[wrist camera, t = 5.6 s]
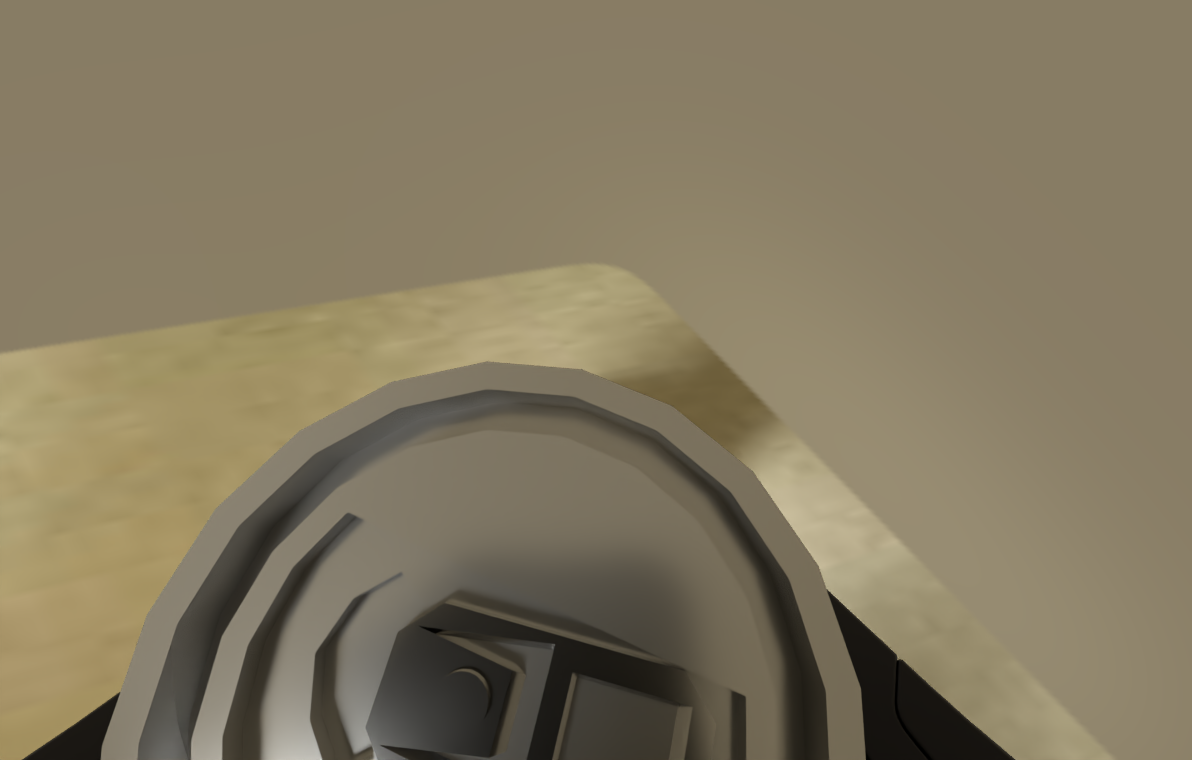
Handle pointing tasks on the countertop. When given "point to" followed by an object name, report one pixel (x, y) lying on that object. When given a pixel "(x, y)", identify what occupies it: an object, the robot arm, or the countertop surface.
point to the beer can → (494, 593)
